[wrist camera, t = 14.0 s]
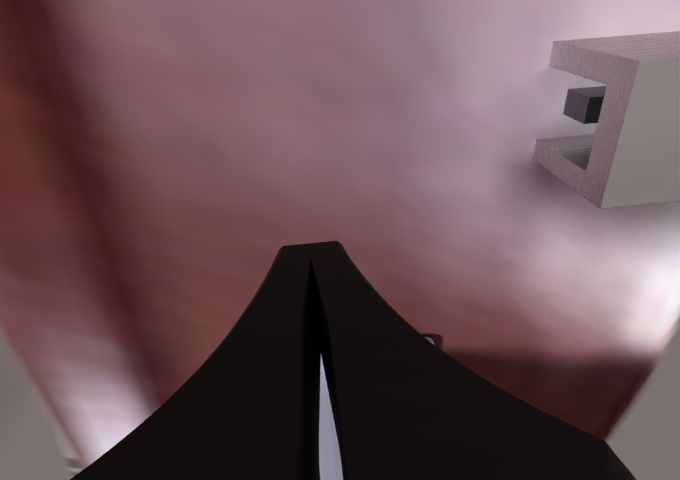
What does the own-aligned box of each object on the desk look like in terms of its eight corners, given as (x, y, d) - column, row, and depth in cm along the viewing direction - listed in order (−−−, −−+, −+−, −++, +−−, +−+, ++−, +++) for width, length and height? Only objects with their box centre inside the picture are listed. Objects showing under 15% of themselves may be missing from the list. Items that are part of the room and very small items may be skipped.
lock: (532, 159, 20) (599, 208, 15) (552, 41, 17) (640, 60, 13) (703, 142, 20) (816, 187, 16) (747, 25, 18) (895, 39, 13)
